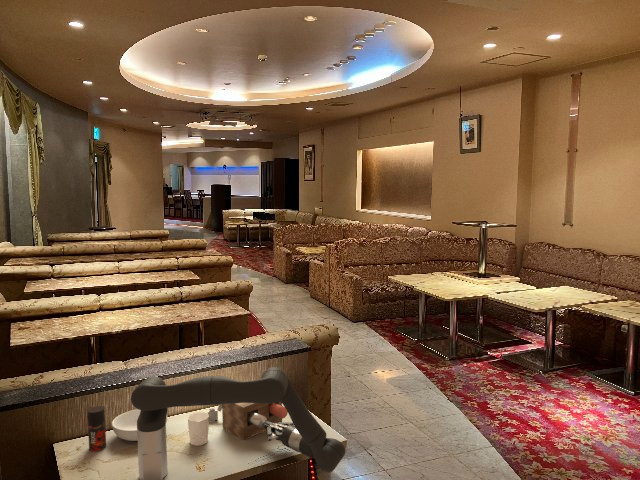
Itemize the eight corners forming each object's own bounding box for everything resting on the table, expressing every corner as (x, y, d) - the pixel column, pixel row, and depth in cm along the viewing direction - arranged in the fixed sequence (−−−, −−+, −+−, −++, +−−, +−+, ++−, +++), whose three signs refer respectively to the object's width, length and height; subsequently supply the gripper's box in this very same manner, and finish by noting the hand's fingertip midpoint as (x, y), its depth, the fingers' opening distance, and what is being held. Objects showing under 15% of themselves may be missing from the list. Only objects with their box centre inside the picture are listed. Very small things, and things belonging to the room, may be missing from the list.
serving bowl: (174, 422, 206) (174, 407, 205) (157, 448, 185) (156, 430, 184) (125, 422, 206) (125, 407, 206) (102, 448, 185) (102, 430, 185)
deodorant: (87, 452, 182) (85, 413, 181) (90, 444, 188) (88, 407, 186) (105, 450, 183) (103, 411, 182) (107, 442, 189) (105, 405, 188)
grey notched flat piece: (207, 421, 206) (207, 403, 205) (207, 420, 208) (207, 401, 207) (225, 419, 208) (224, 401, 207) (224, 417, 210) (224, 399, 209)
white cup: (204, 447, 185) (203, 421, 184) (184, 445, 186) (183, 420, 185) (212, 437, 192) (212, 413, 192) (194, 435, 194) (193, 411, 193)
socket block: (282, 422, 205) (281, 392, 204) (244, 439, 190) (243, 407, 189) (260, 412, 214) (260, 384, 213) (222, 428, 200) (221, 397, 199)
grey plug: (266, 425, 190) (266, 414, 190) (258, 429, 187) (257, 418, 187) (250, 418, 197) (250, 407, 197) (242, 421, 194) (241, 411, 194)
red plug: (287, 416, 198) (287, 405, 198) (279, 420, 195) (279, 409, 195) (271, 409, 205) (271, 399, 205) (263, 412, 202) (263, 402, 202)
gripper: (309, 422, 180) (278, 409, 192) (283, 435, 170) (251, 420, 182) (310, 442, 181) (278, 427, 192) (283, 456, 171) (252, 439, 183)
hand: (265, 424), depth 187 cm, fingers closed
